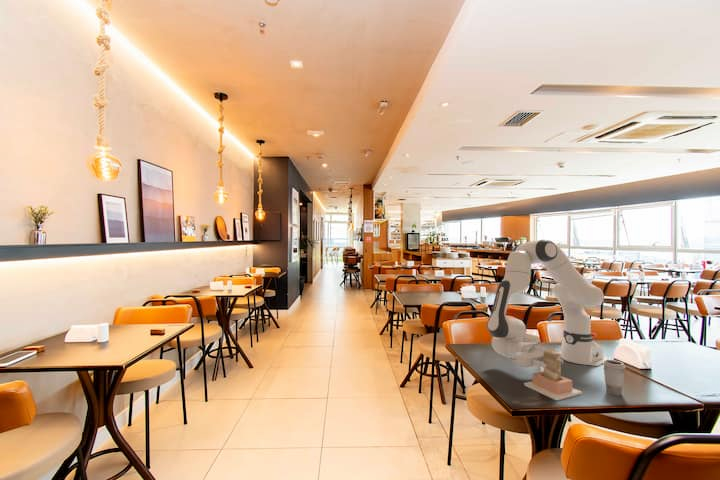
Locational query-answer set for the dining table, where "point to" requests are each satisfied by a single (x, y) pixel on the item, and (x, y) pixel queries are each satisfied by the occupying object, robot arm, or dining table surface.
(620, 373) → the cup
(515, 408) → the dining table surface
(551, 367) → the slat
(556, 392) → the pink slotted holder
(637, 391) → the dining table surface
